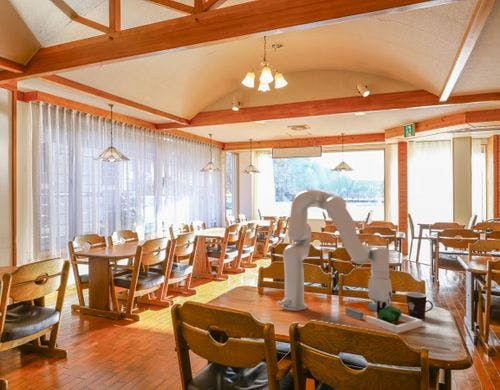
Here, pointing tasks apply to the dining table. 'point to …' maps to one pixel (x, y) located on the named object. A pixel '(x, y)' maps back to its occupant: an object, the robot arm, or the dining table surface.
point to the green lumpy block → (389, 314)
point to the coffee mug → (417, 304)
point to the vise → (359, 314)
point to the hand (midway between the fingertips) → (380, 315)
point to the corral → (403, 327)
